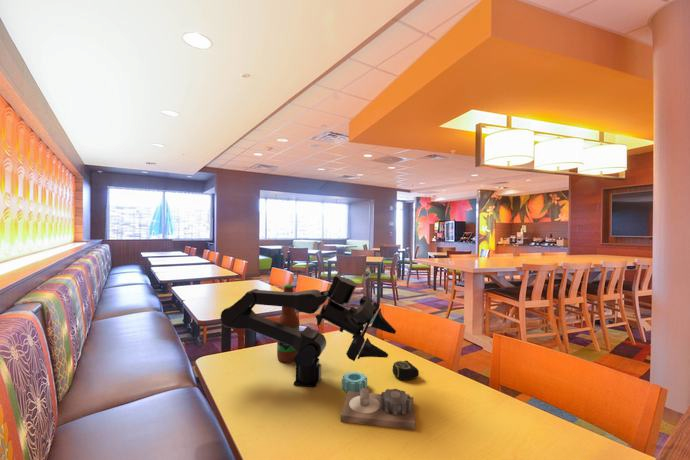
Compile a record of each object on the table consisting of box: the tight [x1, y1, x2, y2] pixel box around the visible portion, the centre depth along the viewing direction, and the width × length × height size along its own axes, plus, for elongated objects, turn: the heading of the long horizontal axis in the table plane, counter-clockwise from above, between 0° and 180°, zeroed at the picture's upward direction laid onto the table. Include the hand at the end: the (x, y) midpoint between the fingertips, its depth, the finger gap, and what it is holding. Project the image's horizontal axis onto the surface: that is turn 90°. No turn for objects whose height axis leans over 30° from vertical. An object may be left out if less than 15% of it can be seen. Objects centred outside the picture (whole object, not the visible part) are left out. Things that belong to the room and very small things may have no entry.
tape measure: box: [392, 360, 420, 381], centre depth 97 cm, size 7×7×4 cm
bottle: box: [276, 284, 300, 363], centre depth 109 cm, size 7×7×25 cm
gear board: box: [340, 387, 416, 431], centre depth 79 cm, size 17×11×5 cm, turn 80°
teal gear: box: [341, 371, 368, 393], centre depth 90 cm, size 7×7×3 cm
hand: (391, 343), depth 89 cm, fingers open, 9 cm apart
